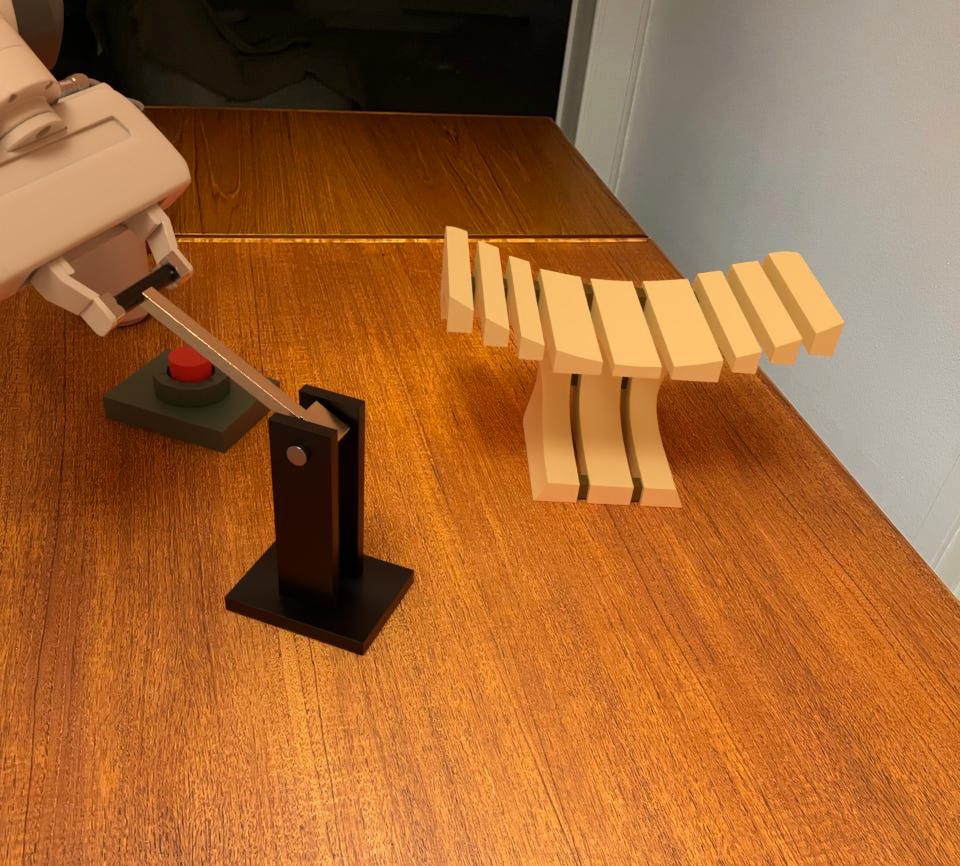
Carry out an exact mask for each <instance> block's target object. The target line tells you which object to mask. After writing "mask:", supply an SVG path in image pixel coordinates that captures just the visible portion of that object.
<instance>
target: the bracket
mask: <svg viewBox="0 0 960 866" xmlns="http://www.w3.org/2000/svg"><path fill="white" fill-rule="evenodd" d="M315 401H317V402H319V403H320V404H321V405H322V406H324V407H325V408H326V409H327V410H329V411H330V412H331V413H332V414H334V415H335V416H336V417H337V418H339V419H340V420H341V421H342V422H344V423H345V424H346V425H347V426H349V427H350V429H349V431H348V432H347V434H346V435H345V437H344V438H343V440H342V441H341V443H340V444H339V446H338V430H336V429H333V428H330V427H326V426H323V425H319V424H316V423H312V422H309V421H305V420H302V419H299V418H295V417H292V416H288V415H285V414H281V413H278V412H275V413H274V412H273V414H271V415H270V417H268V419H267V426H268V442H269V456H270V473H271V486H272V487H271V489H272V503H273V506H272V507H273V522H274V536H275V540H274V541H273V542H272V543H271V544H270V545H269V547H268V548H267V549H265V551H264V553H262V554H261V556H260V557H259V558H258V559H257V560H256V561H255V562H254V563H253V565H252V566H251V567H250V568H249V569H248V570H247V571H246V573H244V575H243V576H242V577H241V578H240V579H239V580H238V582H236V584H235V585H234V586H233V587H232V588H231V589H230V591H229V592H227V594H225V596H224V606H225V610H227V611H230V612H231V613H232V612H233V613H235V614H238V615H241V616H243V617H248V618H250V619H252V620H253V619H254V620H256V621H258V622H262V623H265V624H268V625H271V626H274V627H277V628H279V629H283V630H285V631H289V632H291V633H295V634H297V635H301V636H304V637H307V638H310V639H312V640H316V641H318V642H321V643H324V644H327V645H330V646H333V647H337V648H339V649H343V650H344V651H348V652H350V653H354V654H357V655H359V656H364V655H365V653H366V652H367V650H368V649H369V647H370V646H371V644H372V643H373V642H374V640H375V639H376V637H377V636H378V635H379V633H380V631H381V630H382V629H383V627H384V626H385V624H386V622H387V621H388V620H389V618H390V617H391V615H392V614H393V612H395V609H396V608H397V607H398V606H399V604H400V602H401V601H402V599H403V598H404V597H405V595H406V594H407V592H408V590H409V589H410V588H411V586H412V584H413V583H414V581H415V579H414V578H415V569H412V568H408V567H405V566H402V565H399V564H396V563H393V562H389V561H387V560H383V559H380V558H377V557H374V556H371V555H368V554H364V547H365V546H364V545H365V544H364V543H365V537H364V536H365V470H366V469H365V466H366V465H365V461H366V460H365V459H366V452H365V451H366V400H364V399H360V398H358V397H357V398H356V397H353V396H350V395H346V394H343V393H339V392H336V391H333V390H328V389H325V388H321V387H318V386H315V385H311V384H307V383H305V384H304V385H303V386H301V387H300V389H298V404H299V405H301V406H302V407H303V408H304V409H306V410H307V409H308V408H309V407H310V406H311V405H312V404H313V403H314V402H315Z"/></svg>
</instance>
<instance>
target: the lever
mask: <svg viewBox="0 0 960 866" xmlns="http://www.w3.org/2000/svg"><path fill="white" fill-rule="evenodd" d="M149 273H150V274H148V275H147V276H145V277H143V278H142V279H140V280H139V281H137V282H135V283H134V284H132V285H131V286H129V287H127V288H126V289H124V290H123V291H121V292H119V293H118V294H116V295H115V296H113V297H114V298H115V299H116V301H117V304H118V305H120V306H122V307H123V308H124V310H125V311H126V313H128V312H129V311H131V310H133V309H134V308H136V307H137V306H141V307H142V308H143V309H144V310H146V311H147V312H148V315H150V316H152V317H153V318H154V319H156V321H158V322H160V323H161V324H162V325H163V326H164V327H165V328H167V329H168V330H169V331H170V332H172V333H173V334H174V335H176V336H177V337H178V338H179V339H180V340H182V341H183V342H184V343H186V344H187V345H188V346H189V347H192V348H193V349H195V350H196V351H197V352H198V353H200V354H201V355H202V356H203V357H205V358H206V359H207V360H208V361H210V362H211V363H212V364H213V365H215V366H216V367H217V368H219V369H220V370H221V371H222V372H224V373H225V374H226V375H227V376H229V377H230V378H231V379H232V380H234V381H235V382H236V383H237V384H239V385H240V386H241V387H242V388H244V389H245V390H246V391H247V392H249V393H250V394H251V395H252V396H254V397H255V398H256V399H258V400H259V401H260V402H261V403H263V404H264V405H265V406H266V407H268V408H269V409H270V410H271V411H270V412H273V414H274V413H275V412H278V413H281V414H285V415H288V416H292V417H295V418H299V419H302V420H305V421H309V422H312V423H316V424H319V425H323V426H326V427H330V428H333V429H336V430H338V446H339V444H340V443H341V441H342V440H343V438H344V437H345V435H346V434H347V432H348V431H349V429H350V427H349V426H347V425H346V424H345V423H344V422H342V421H341V420H340V419H339V418H337V417H336V416H335V415H334V414H332V413H331V412H330V411H329V410H327V409H326V408H325V407H324V406H322V405H321V404H320V403H319V402H317V401H315V402H314V403H313V404H312V405H311V406H310V407H309V408H308V409H307V410H306V409H304V408H303V407H302V406H301V405H299V402H297V401H296V400H294V399H293V398H292V397H291V396H289V395H288V394H287V393H286V392H285V391H283V390H282V389H281V388H280V389H279V388H278V387H277V386H276V385H274V384H273V383H272V382H271V381H269V380H268V379H267V378H266V377H267V376H265V375H264V374H262V373H261V372H259V371H258V370H257V369H256V368H255V367H254V366H252V365H251V364H249V363H248V362H247V361H245V359H243V358H242V357H241V356H239V355H238V354H237V353H236V352H234V351H233V350H232V349H231V348H230V347H229V346H228V345H226V344H225V343H223V342H222V341H220V340H219V339H218V338H217V337H216V336H214V335H213V334H212V333H210V332H209V331H208V330H207V329H205V328H204V327H203V326H202V325H201V324H199V323H198V322H197V321H196V320H195V319H193V318H192V317H190V315H189V314H187V313H186V312H184V311H183V310H182V309H180V308H179V307H178V306H177V305H176V304H174V303H173V302H172V301H171V300H170V299H168V298H167V297H166V296H165V295H163V294H162V293H160V292H162V291H163V290H165V289H166V287H168V286H169V285H171V284H172V283H173V282H174V281H175V275H174V272H173V271H172V269H171V268H169V267H168V266H161V267H159V268H158V269H156V270H154V271H153V272H152V271H151V272H149Z"/></svg>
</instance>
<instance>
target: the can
mask: <svg viewBox="0 0 960 866" xmlns="http://www.w3.org/2000/svg"><path fill="white" fill-rule="evenodd" d="M148 259H149V258H148V254H147V251H146V244H145V241H144V242H140V241H139V240H138V239H137V238H136V236H135V235H134V234H133V233H132V232H131V231H130V229H129V230H127V231H125V232H124V233H122V234H120V235H118V236H117V237H115V238H113V239H111V240H109V241H108V242H106V243H104V244H102V245H101V246H99V247H97V248H95V249H93V250H92V251H90V252H88V253H86V254H84V255H83V256H81V257H79V258H77V259H76V260H74V261H72V262H70V263H69V265H70V266H71V267H72V268H73V269H74V270H75V273H74V274H73V276H72V278H73V279H75V280H76V281H78V282H80V283H81V284H83V285H84V286H86V287H88V288H89V289H91V290H92V291H94V292H96V293H97V294H99V295H100V296H101V295H102V294H104V293H106V292H108V291H109V292H110V293H111V295H112V296H115V295H116V294H118V293H119V292H121V291H123V290H124V289H126V288H127V287H129V286H131V285H132V284H134V283H135V282H137V281H139V280H140V279H142V278H143V277H145V276H147V275H148V274H150V273H151V272H150V266H149V260H148ZM126 314H127V317H126V319H125V320H124V321H123V322H122V323H121V324H120V325H119V326H118V327H124V326H129V325H133V324H136V323H139V322H141V321H142V320H144V319H145V318H146V317H147V315H149V313H148V312H147V311H146V310H144V309H143V308H142V307H141V306H137V307H136V308H134V309H133V310H131V311H129V312H128V313H126Z"/></svg>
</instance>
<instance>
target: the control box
mask: <svg viewBox="0 0 960 866" xmlns="http://www.w3.org/2000/svg"><path fill="white" fill-rule="evenodd" d="M173 350H174V349H168V348H165V350H163V351H162V352H161V353H159V354H158V355H156V356H155V357H153V359H152V358H151V360H149V361H148V362H147V363H146V364H144V365H143V366H141V367H140V368H139V369H138V370H137V369H136V371H135V372H133V373H131V375H129V376H127V378H125V379H124V380H122V381H121V382H119V383H118V384H116V386H114V387H113V388H112V389H110V390H108V391H107V392H106V393H105V394H103V395H102V396H101V398H102V403H103V409H104V414H105V418H106V419H109V420H112V421H115V422H119V423H122V424H125V425H130V426H132V427H135V428H138V429H141V430H145V431H149V432H153V433H156V434H159V435H161V436H165V437H169V438H172V439H175V440H177V441H178V440H179V441H182V442H185V443H189V444H191V445H194V446H198V447H202V448H205V449H208V450H212V451H215V452H218V453H221V454H226V453H227V452H228V451H229V450H230V449H231V448H232V447H234V445H236V444H237V442H239V441H240V440H241V439H242V438H243V437H244V436H245V435H246V434H248V433H249V431H250V430H251V429H253V428H254V427H255V426H256V425H257V424H259V422H261V420H262V419H263V418H264V417H266V416H267V415H268V414H269V413H270V412H272V411H271V410H270V409H269V408H268V407H266V406H265V405H264V404H263V403H261V402H260V401H259V400H258V399H256V398H255V397H254V396H252V395H251V394H250V393H249V392H247V391H246V390H245V389H244V388H242V387H241V386H240V385H239V384H237V383H236V382H235V381H234V380H232V379H231V378H230V377H229V376H227V375H226V374H225V373H224V372H222V371H221V370H220V369H219V368H217V367H216V366H215V365H213V364H212V363H211V366H212V376H211V377H210V378H209V379H206V380H203V381H199V382H181V381H178V380H174V379H173V378H172V377H171V375H170V368H169V361H168V356H169V354H170V352H172V351H173ZM265 377H266V378H267V379H268V380H269V381H271V382H272V383H273V384H274V385H276V386H277V387H278V388H279V389H281V381H280V380H278V379H275V378H271V377H268V376H265Z"/></svg>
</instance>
